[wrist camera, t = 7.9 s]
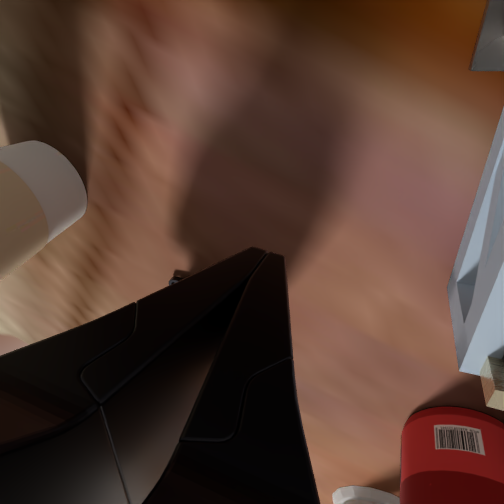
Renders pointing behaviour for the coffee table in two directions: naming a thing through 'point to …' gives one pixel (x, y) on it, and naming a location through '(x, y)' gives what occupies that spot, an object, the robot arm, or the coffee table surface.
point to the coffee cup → (35, 200)
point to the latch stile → (493, 382)
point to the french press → (363, 496)
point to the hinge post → (490, 39)
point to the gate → (481, 270)
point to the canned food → (452, 458)
